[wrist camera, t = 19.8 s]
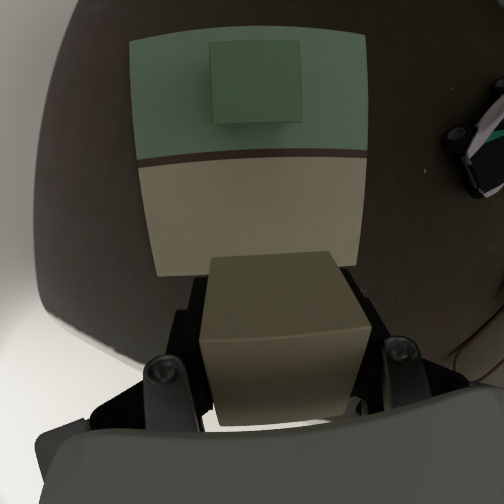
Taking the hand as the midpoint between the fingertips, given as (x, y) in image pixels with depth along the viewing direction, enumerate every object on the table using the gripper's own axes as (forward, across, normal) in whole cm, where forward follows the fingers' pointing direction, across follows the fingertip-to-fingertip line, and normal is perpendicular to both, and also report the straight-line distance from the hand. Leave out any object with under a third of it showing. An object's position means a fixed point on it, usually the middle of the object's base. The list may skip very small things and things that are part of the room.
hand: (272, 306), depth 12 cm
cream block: (0, 0, 0) cm, 0 cm away
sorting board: (+10, 0, -5) cm, 11 cm away
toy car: (+11, -21, -8) cm, 25 cm away
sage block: (+10, 0, -9) cm, 13 cm away
